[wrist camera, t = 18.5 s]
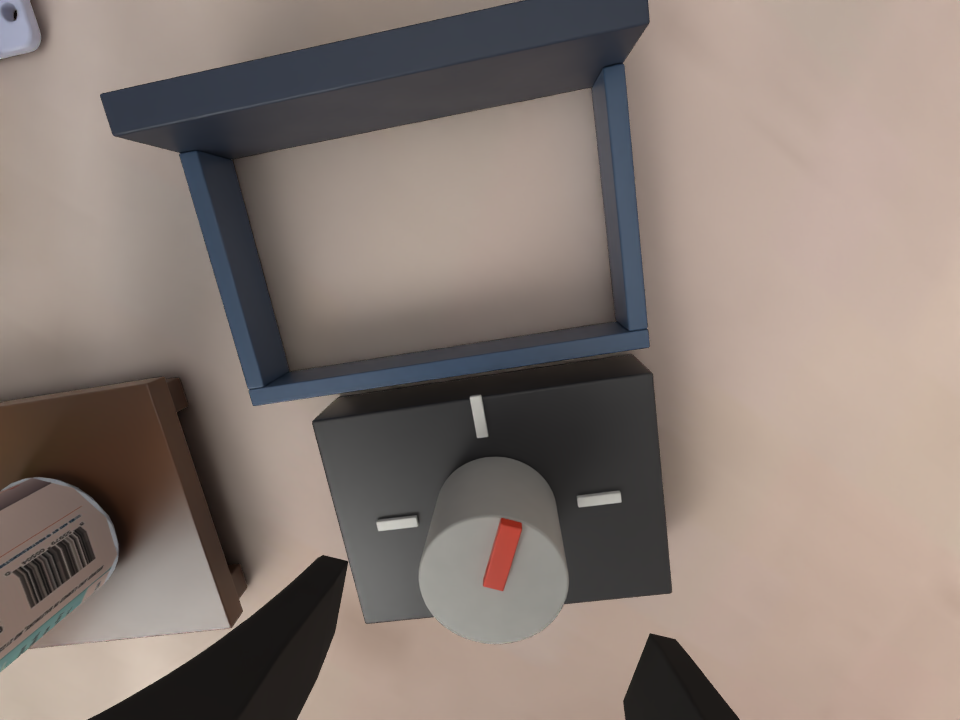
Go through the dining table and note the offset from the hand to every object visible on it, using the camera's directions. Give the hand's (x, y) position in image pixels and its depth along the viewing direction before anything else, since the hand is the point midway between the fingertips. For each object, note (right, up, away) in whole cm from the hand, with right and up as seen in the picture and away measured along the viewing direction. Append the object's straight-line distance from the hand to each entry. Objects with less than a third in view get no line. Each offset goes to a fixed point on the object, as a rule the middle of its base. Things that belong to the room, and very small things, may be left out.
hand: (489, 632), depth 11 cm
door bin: (-2, +10, +5) cm, 12 cm away
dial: (0, +1, +5) cm, 5 cm away
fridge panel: (+1, +2, +7) cm, 8 cm away
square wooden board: (-15, +1, +9) cm, 18 cm away
